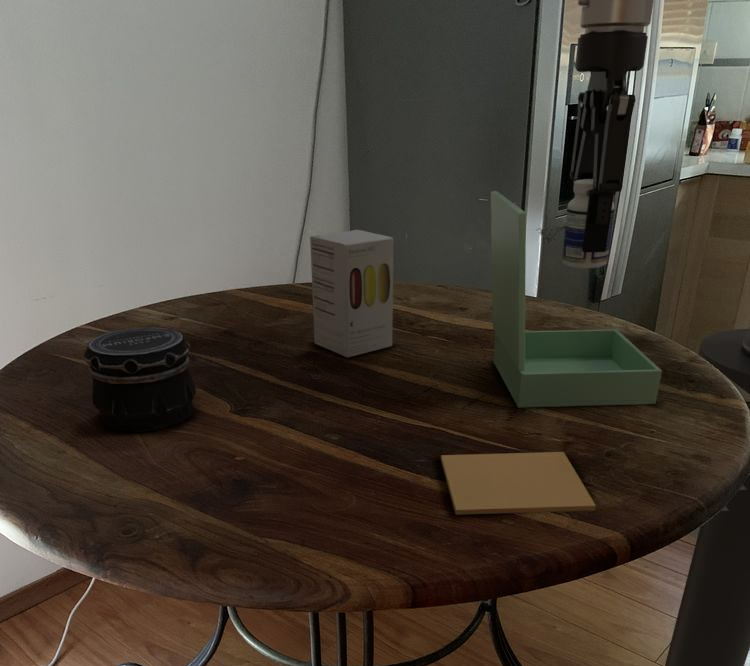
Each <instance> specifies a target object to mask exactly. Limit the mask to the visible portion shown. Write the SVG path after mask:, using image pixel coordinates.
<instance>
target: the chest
mask: <svg viewBox="0 0 750 666" xmlns="http://www.w3.org/2000/svg"><path fill="white" fill-rule="evenodd" d="M492 359H493V360H492V362H493V364H494V366H495V367H496V369H497V372H498V373H499V375H500V376H501V378H502V381H503V382H504V384H505V386H506V388H507V390H508V391H509V393H510V395H511V397H512V399H513V401H514V402H515V404H516V406H517V408H520V409H521V408H549V407H550V408H551V407H557V408H558V407H589V406H590V407H594V406H595V407H596V406H630V405H631V406H632V405H656V403H657V399H658V393H659V388H660V383H661V378H662V373H663V370H662V369H661V368H660V367H659V366H657V365H656V363H654V362H653V361H652V360H651V359H650V358H649V357H648V356H647V355H645V354H644V353H643V352H642V351H641V350H640V349H639V348H638V347H637V346H636V345H634V344H633V342H631V341H630V340H629V339H628V338H627V337H626V336H625V335H624V334H623V333H621V332H620V331H619V330H618V329H617V328H613V329H612V328H611V329H610V328H607V329H567V330H565V329H564V330H563V329H562V330H527V331H526V330H525V370H524V371H518V369H517V367H516V366H515V364H514V363H513V361H512V359H511V358H510V356H509V354H508V353H507V351H506V349H505V348H504V346H503V345H502V343H501V341H500V340H499V338H498V336H497V335H496V333H495V332H494V345H493V357H492Z"/></svg>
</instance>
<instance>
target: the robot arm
mask: <svg viewBox="0 0 750 666" xmlns="http://www.w3.org/2000/svg"><path fill="white" fill-rule="evenodd" d="M654 1H655V0H577V5H578V6H582V7H581V14H580V24H579V26H580V27H581V29H584V33H583V34H580V35H579V37H577V45H576V57H575V63H574V65H575V68H574V69H575V70H576V71H577V72H579V73H590V76H589V80H588V84H587V89H586V90H585V91H580V92H579V94H578V96H577V116H576V117H577V118H576V126H575V134H574V142H573V148H572V159H571V167H570V173H569V178H570V180H573V181H572V183H573V184H574V182H575V181H577V180H583V179H593V190H588V191H586V193H587V196H589V200H588V208H587V216H586V224H585V232H584V240H583V249H582V251H583V252H606V245H607V238H608V231H609V224H610V217H611V209H612V202H613V203H614V196H615V195H616V194H617V193H620V192H622V190H623V186H624V185H623V184H624V176H625V168H626V162H627V161H626V160H627V154H628V146H629V145H628V144H629V137H630V129H631V121H632V117H633V112H634V108H635V103H636V99H637V98H636V95H635V94H628V90H627V75H628V72H639V71H641V70H642V69H643V68H644V65H645V58H646V52H647V47H648V46H647V45H648V39H649V36H648V35H647V32H644V30H645V27H648V26H650V25H651V22H652V15H653V8H654ZM574 197H575V193H574V192H573V196H572V199H574ZM748 329H749V330H748V332H747V333H746V335H745V337H744V339H743V343H742V347H741V350H742V352H743V353H744V354H745V355H747V356H748V357H750V328H748Z"/></svg>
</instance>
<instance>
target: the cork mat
mask: <svg viewBox="0 0 750 666" xmlns="http://www.w3.org/2000/svg"><path fill="white" fill-rule="evenodd" d="M440 463H441V466H442V470H443V473H444V477H445V482H446V485H447V489H448V492H449V495H450V500H451V503H452V507H453V510H454V514H455V515H456V516H461V515H464V516H465V515H494V514H496V515H497V514H523V513H524V514H525V513H527V514H529V513H556V512H557V513H559V512H585V511H586V512H589V511H590V512H591V511H593V512H594V511H596V506H597V505H596V503H595V502H594V500H593V498H592V497H591V494H590V493H589V491H588V489H587V488H586V487H585V485H584V483H583V482H582V480H581V478H580V477H579V474H578V473H577V472H576V470H575V468H574V467H573V465H572V464H571V462H570V460H569V458H568V457H567V455H566V453H565V451H544V452H515V453H514V452H511V453H475V454H473V453H472V454H471V453H470V454H441V455H440Z"/></svg>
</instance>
